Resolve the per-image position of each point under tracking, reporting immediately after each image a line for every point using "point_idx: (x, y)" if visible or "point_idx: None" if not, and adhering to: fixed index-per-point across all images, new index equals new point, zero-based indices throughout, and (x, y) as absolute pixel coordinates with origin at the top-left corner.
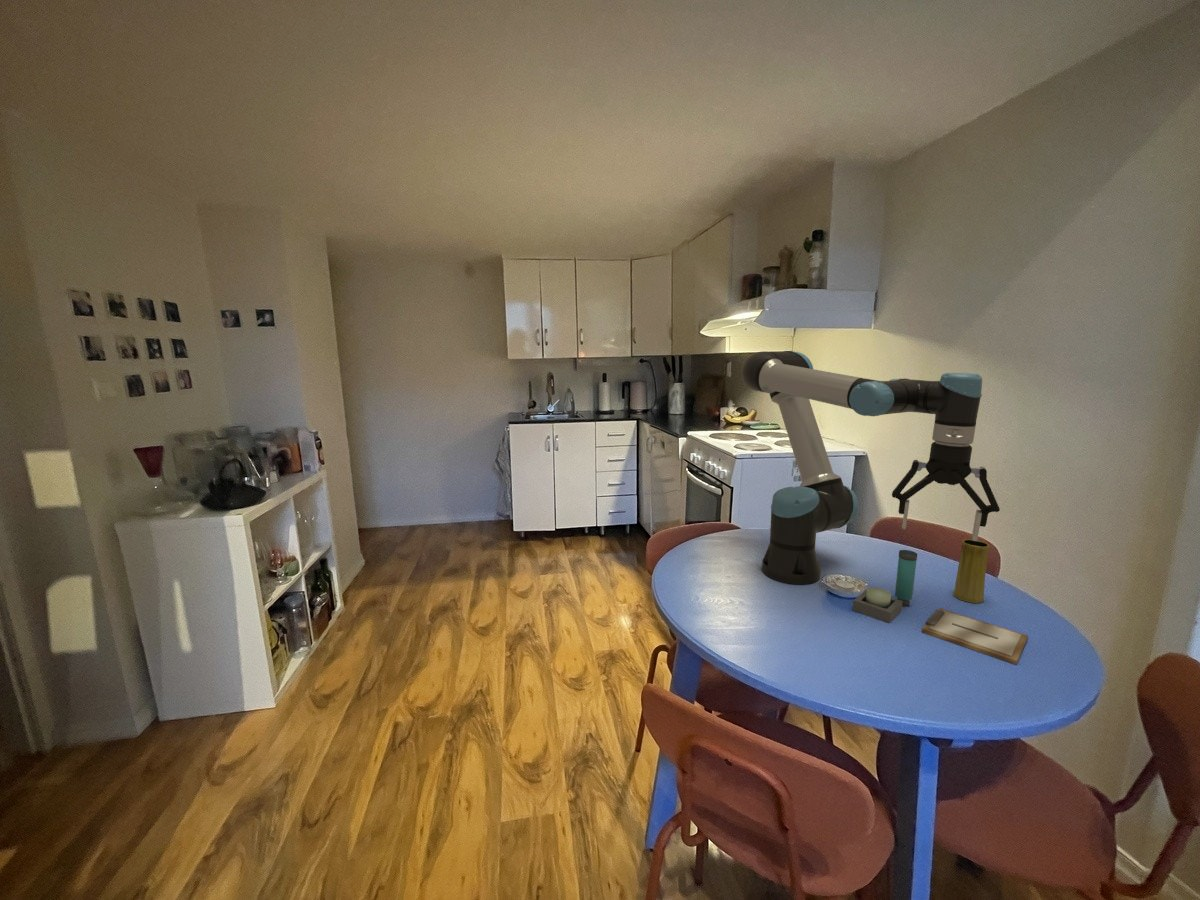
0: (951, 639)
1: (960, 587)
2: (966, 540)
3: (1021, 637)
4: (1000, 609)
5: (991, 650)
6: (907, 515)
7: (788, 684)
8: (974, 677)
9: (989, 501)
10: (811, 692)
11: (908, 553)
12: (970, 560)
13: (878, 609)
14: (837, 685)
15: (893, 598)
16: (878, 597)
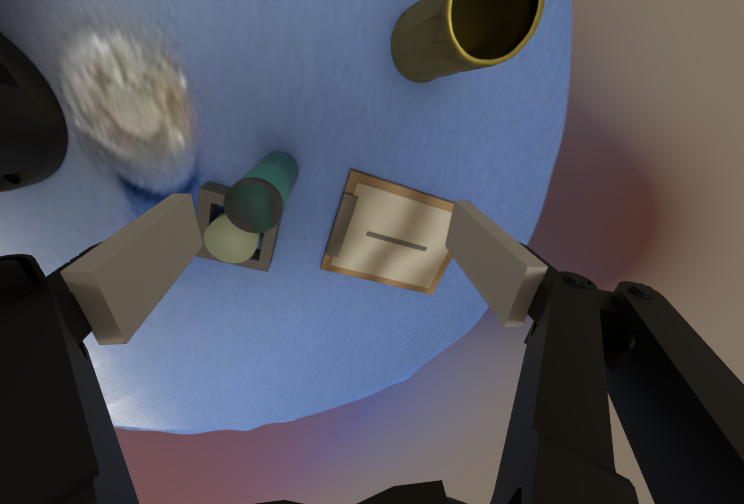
0: (360, 277)
1: (406, 66)
2: None
3: None
4: (474, 89)
5: (407, 284)
6: (171, 284)
7: (202, 427)
8: (375, 337)
9: (608, 388)
10: (226, 426)
11: (254, 214)
12: (447, 64)
13: (245, 266)
14: (245, 409)
15: None
16: (235, 261)
